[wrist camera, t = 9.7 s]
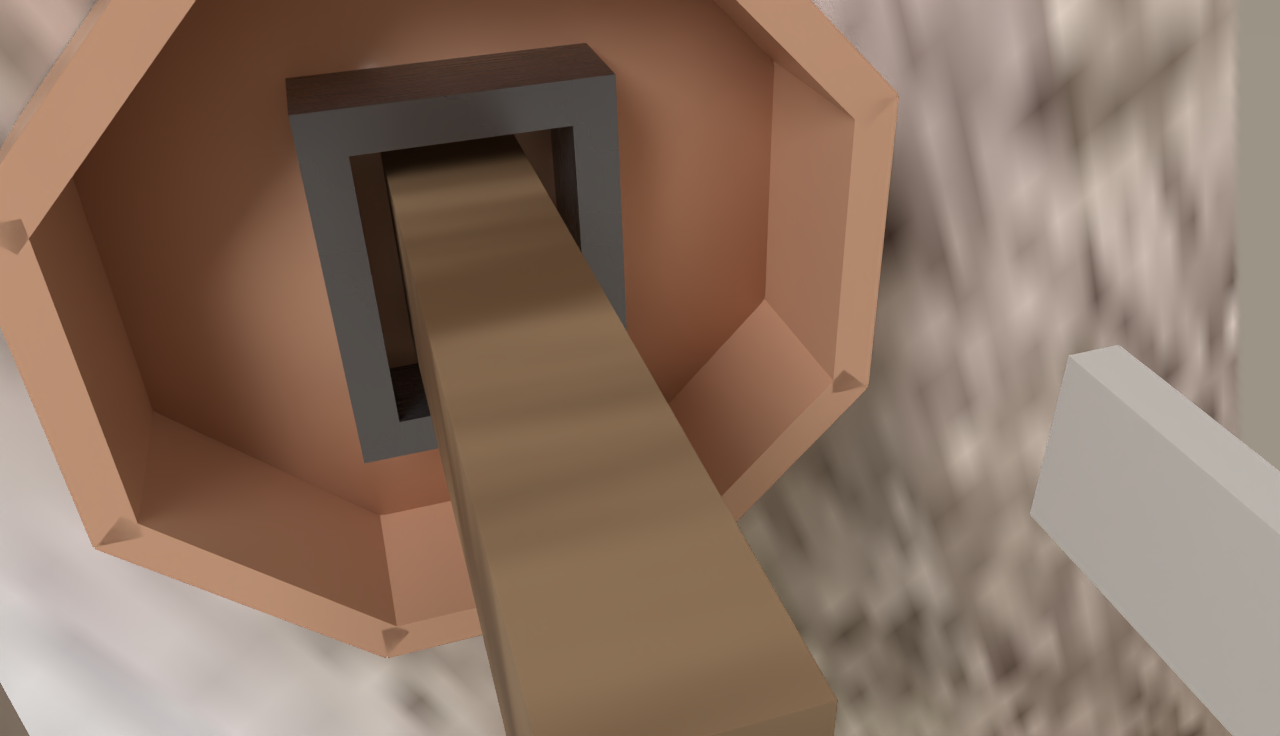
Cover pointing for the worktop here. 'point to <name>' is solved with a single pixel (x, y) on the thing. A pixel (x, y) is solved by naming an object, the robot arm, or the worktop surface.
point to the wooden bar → (579, 479)
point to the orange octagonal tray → (298, 302)
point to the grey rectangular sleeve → (435, 114)
